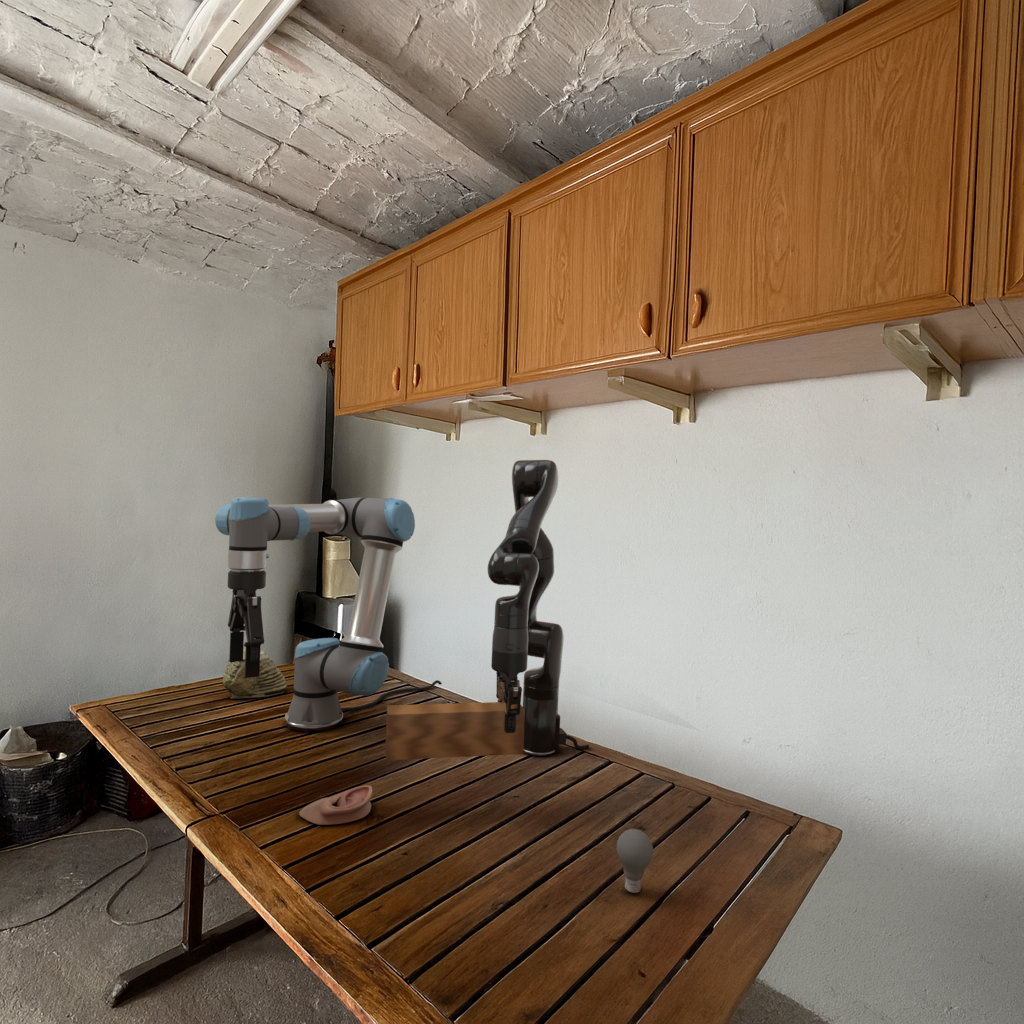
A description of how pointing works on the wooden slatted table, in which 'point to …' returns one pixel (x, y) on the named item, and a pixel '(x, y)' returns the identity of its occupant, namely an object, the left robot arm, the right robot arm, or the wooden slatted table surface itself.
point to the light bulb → (634, 857)
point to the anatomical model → (339, 807)
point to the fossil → (254, 679)
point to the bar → (451, 731)
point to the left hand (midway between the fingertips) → (243, 668)
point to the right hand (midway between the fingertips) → (506, 726)
